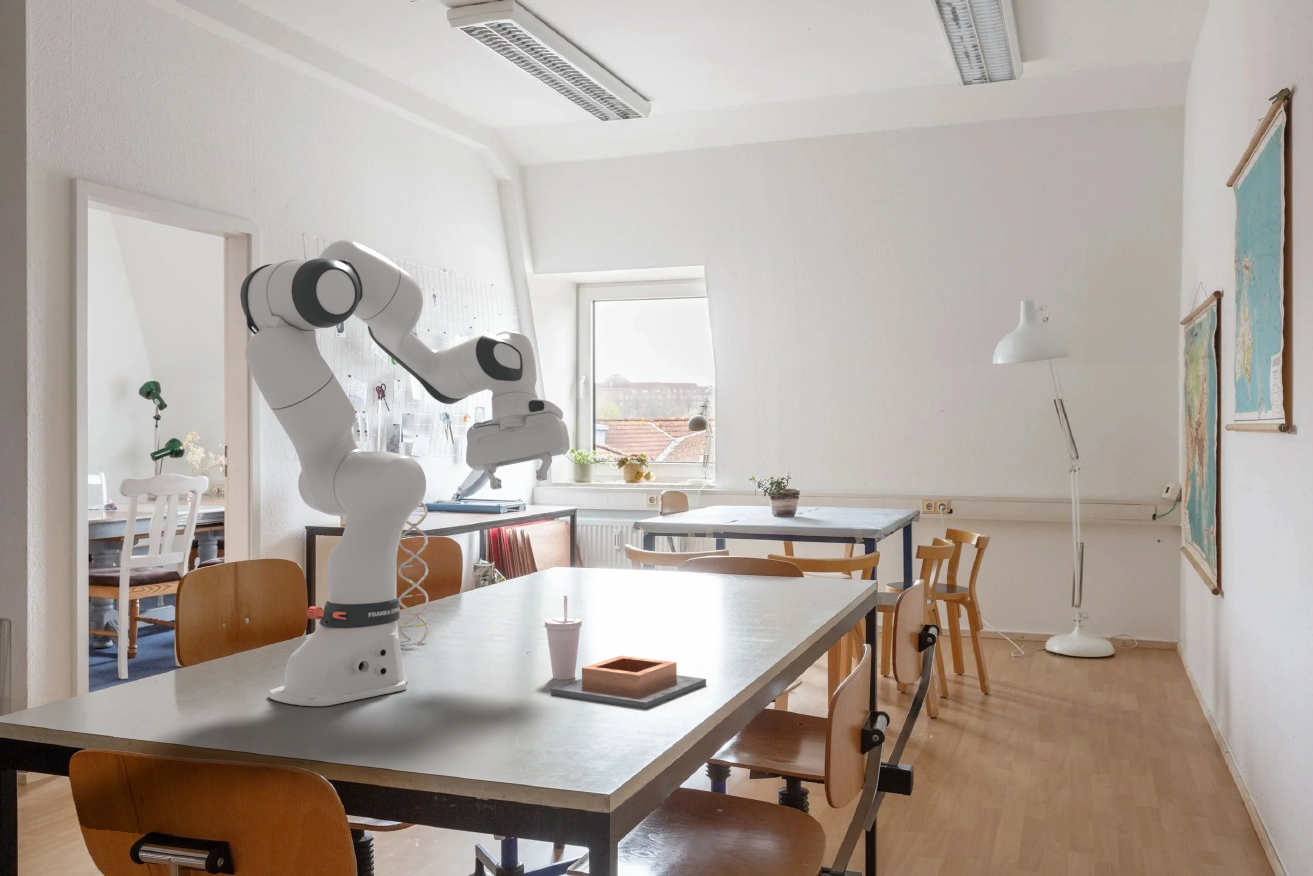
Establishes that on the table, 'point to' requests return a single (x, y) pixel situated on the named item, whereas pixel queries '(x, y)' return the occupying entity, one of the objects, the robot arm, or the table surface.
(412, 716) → the table surface
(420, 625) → the dna model
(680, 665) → the table surface
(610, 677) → the mount
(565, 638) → the smoothie
